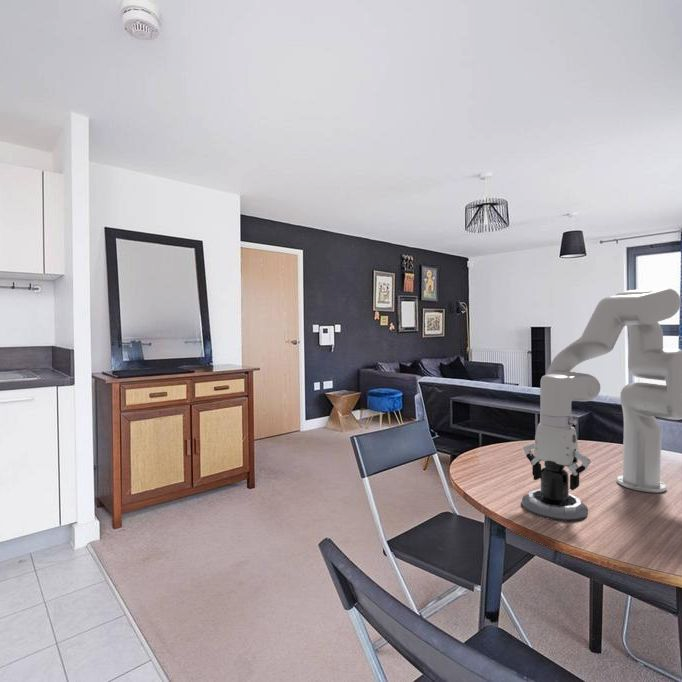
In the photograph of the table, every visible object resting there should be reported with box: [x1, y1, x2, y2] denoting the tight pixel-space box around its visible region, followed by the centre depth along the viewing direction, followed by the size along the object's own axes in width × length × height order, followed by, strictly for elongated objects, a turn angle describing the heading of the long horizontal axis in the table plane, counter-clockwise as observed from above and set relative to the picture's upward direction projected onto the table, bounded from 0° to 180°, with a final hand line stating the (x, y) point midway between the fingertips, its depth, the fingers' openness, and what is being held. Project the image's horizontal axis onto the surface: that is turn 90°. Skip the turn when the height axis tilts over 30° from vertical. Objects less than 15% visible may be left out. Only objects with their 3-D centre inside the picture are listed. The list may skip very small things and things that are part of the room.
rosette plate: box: [521, 488, 589, 522], centre depth 119 cm, size 16×16×3 cm
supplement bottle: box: [540, 461, 570, 506], centre depth 118 cm, size 7×7×12 cm
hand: (555, 483), depth 118 cm, fingers open, 9 cm apart
